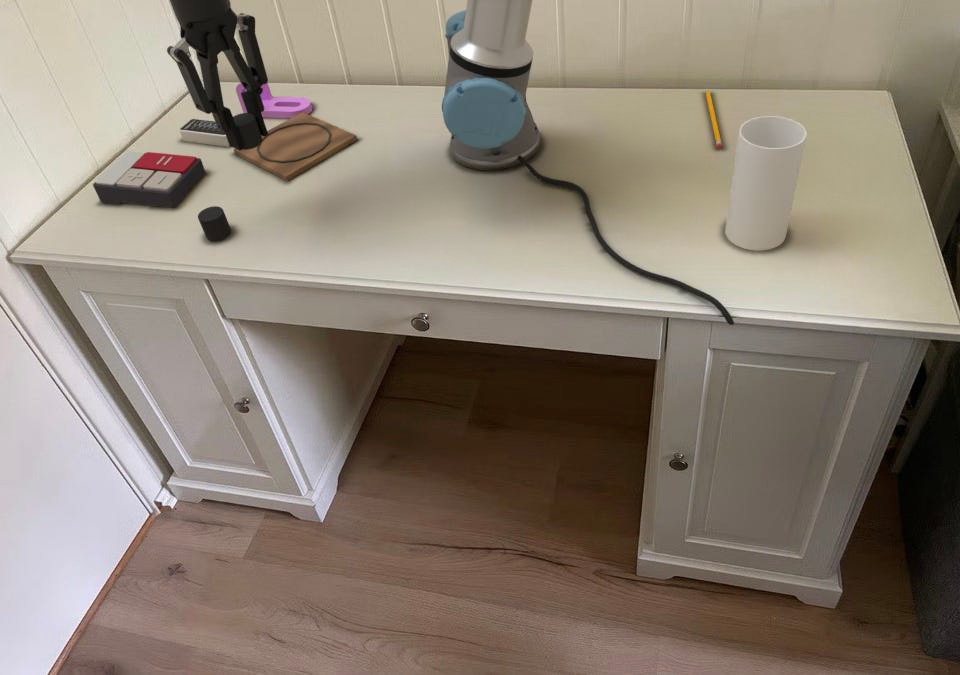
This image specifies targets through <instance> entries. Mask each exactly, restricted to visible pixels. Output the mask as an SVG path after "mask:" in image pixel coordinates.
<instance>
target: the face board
mask: <svg viewBox="0 0 960 675" xmlns="http://www.w3.org/2000/svg"><path fill="white" fill-rule="evenodd" d="M267 132H268V135H267V136H265V137H264V136H262V135H261V136H262V139H263V141H262V143H261V144H260V145H259V146H257V147H255V148H252V149H248V150H238V149H236V148H233V152H234V155H237V156H238V157H240V158H241V159H244V160H245V161H247V162H249V163H251V164H254V165H255V166H257V167H259V168H261V169H263V170H265V171H267V172H268V173H271V174H272V175H274V176H276V177H278V178H280V179H282V180H284V181H286V182H289V181H290V180H292V179H294V178H295V177H297V176H299V175H301V174H302V173H305V171H307V170H309V169H311V168H313V167H314V166H317V165H318V164H319V163H321V162H322V161H324V160H326V159H327V158H329V157H331V156H333V155H334V154H336V153H338V152H340V151H341V150H343V149H344V148H346V147H348V146H350V145H351V144H353V143H355V142H357V141H358V138H357V135H356V134H354V133H352V132H350V131H347V130H345V129H343V128H340V127H338V126H336V125H333V124H332V123H329V122H326V121H324V120H323V119H320V118H317V117H315V116H312V115H310V114H306V113H303V112H301V113H300V114H298V115H296V116H294V117H292V118H288V119H287V120H284V121H283V122H281V123H280V124H277V125H275V126H274V127H272V128H270V129H267Z"/></svg>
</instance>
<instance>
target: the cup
mask: <svg viewBox="0 0 960 675" xmlns="http://www.w3.org/2000/svg"><path fill="white" fill-rule="evenodd" d="M807 134H808V133H807V129H806V128H805V127H804V125H802V123H800V122H798V121H796V120H794V119H792V118H789V117H785V116H778V115H764V116H758V117H753V118H750V119H748V120H747V121H745V122H743V123H742V124H741V125H740V128H739V131H738V136H737V142H736V148H735V149H736V150H735V157H734V158H735V159H734V165H733V171H732V178H731V186H730V193H729V199H728V208H727V213H726V221H725V227H724V233H725V236H726V238H727V240H728V241H729V242H730V243H732V244H733V245H735V246H737V247H738V248H742V249H743V250H744V249H745V250H749V251H756V252H758V251H769V250H772V249H775V248H777V247H779V246H780V245H781V244H783V243H784V241H785V240H786V237H787V233H788V227H789V223H790V219H791V213H792V208H793V204H794V199H795V195H796V189H797V185H798V179H799V175H800V171H801V167H802V166H801V165H802V162H803V161H802V160H803V156H804V151H805V146H806V140H807Z"/></svg>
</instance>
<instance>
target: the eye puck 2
mask: <svg viewBox="0 0 960 675" xmlns="http://www.w3.org/2000/svg"><path fill="white" fill-rule="evenodd" d="M233 119H234V122H235V124H236V127H237V130H238V133H239V136H240V138H241V141H242V144H243V147H244V149H242V150H248V149H252V148H255V147H257V146H259V145H260V144H261V143H262V141H263V139H262V136H261V133H260V130H259V127H258V124H257V121H256V118H255V116H254V115H253V114H251V113H243V112H242V113H238V114H236V115H233Z"/></svg>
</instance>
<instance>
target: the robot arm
mask: <svg viewBox="0 0 960 675" xmlns="http://www.w3.org/2000/svg"><path fill="white" fill-rule="evenodd" d="M169 3H170V6H171V8H172V10H173V13H174V16H175V18H176V21H177V22H178V24H179V27H180V32H179V35H180V36H179V37H180V39H179V40H178V42H177V43H176V44H174V46H173V45H169V46H168V47H167V49H166V52H167V54H168V56H170V57H171V58H172V60H173V61H174V62H175V63H176V65H177V68H178V70H179V72H180V74H181V77H182V78H183V81H184V83H185V87H186V88H187V91H188V93H189V95H190V97H191V100H192V102H193V104H194V106H195V108H196V110H198V111H200V112H203V113H205V114H207V115H210V114H212V118H213V119H214V120H213V121H215V122H216V125H217V128H218V129H219V130H221V131H223V132H225V134H226V137H227V140H228V142H229V145H230V146H229V147H231V148H233V149H235V148H236V149H238V150H242V149H244V147H243V144H242V141H241V138H240V136H239V133H238V130H237V127H236V124H235V122H234V119H233V117H234V115H233V114H232V111H231V109H230V108H228V107H226V106H225V105H224V99H223V98H224V97H223V93H222V87H221V80H220V74H219V68H218V64H219V57H218V55H219V54H221V53H222V52H223V54H224V55H225V58H226V59H227V61H228V62H229V63H228V64H230V66H231V68H232V70H233V72H234V73H235V75H236V77H237V79H238V80H239V83H240V82H241V84H242V85H243V87H244V89H246V91H247V92H245V91H244V92H242V93H241V96H242V98H243V101H244V104H245V107H246V110H247V113H251V114H253V115H254V116H255V118H256V121H257V124H258V127H259V130H260V133H261V135H262V136H264V137H265V136H267V135H268V132H267V131H268V129H267V125H266V123H265V120H264V117H262V114H261V112H263V111H264V105H263V102H262V99H261V96H260V94H262V92H263V89H262V88H261V86H262V85H263V84H266V83H267V82H269V79H268V78H269V77H268V75H267V71H266V68H265V64H264V59H263V56H262V53H261V50H260V46H259V42H258V38H257V35H256V18H255V17H254V15H249V14H248V13H247V14H246V13H243V12H241V13H239V14H236V12H235V11H234V10H233V9H232V6H231V5H232V4H231V0H169ZM532 5H533V0H467V1H466V8H465V10H462V11H459V12H456V13H454V14H453V15H450V17H449V18H447V19H446V22H445V34H444V37H445V38H446V40H447V49H448V50H447V51H448V61H447V69H446V70H447V71H446V77H445V78H446V79H445V85H444V95H443V97H442V101H441V113H442V118H443V122H444V124H445V127H446V129H447V130H448V132H449V133H450V134H451V135H450V142H449V144H450V151H451V155H452V157H453V159H454V160H455V161H456V162H458V163H459V164H460V165H462V166H463V167H467V168H470V169H474V170H479V171H499V170H506V169H509V168H514V167H517V166H519V165H523V166H524V167H525V168H526V169H527V170H528V171H529V172H530V173H531V175H532V176H534V177H535V178H536V179H537V180H540V181H542V182H545V183H548V184H551V185H557V186H562V187H567V188H569V189H570V188H571V189H572V190H574V191H576V192H578V193H579V195H580V196H581V197H582V200H583V203H584V209H585V213H586V215H587V218H588V221H589V223H590V226H591V229H592V232H593V234H594V236H595V238H596V240H597V241H598V243H599V244H600V246H601V247H602V248H603V249H604V250H605V251H606V252H607V253H608V255H610V256H611V257H612V258H613V259H614V260H615V261H616V262H618V263H619V264H621V265H623V266H624V267H626V268H627V269H629V270H631V271H633V272H635V273H637V274H639V275H641V276H643V277H646V278H648V279H652V280H656V281H659V282H663V283H666V284H669V285H672V286H675V287H677V288H680V289H682V290H685V291H686V292H689V293H690V294H693V295H695V296H697V297H699V298H702V299H704V300H705V301H708V302H709V303H710V304H712V305H713V306H714V307H715V308H716V309H717V310H718V311H719V312H720V314H721V315H722V316H723V318H724V319H725V321H726V323H727V324H728V325H730V326H733V325H735V321H734V319H733V317H732V315H731V314H730V312H729V311H728V310H727V308H726V307H725V306H724V305H723V304H722V302H721V301H719V300H718V299H717V298H715V297H714V296H712V295H711V294H709V293H706V292H705V291H702V290H700V289H698V288H695V287H693V286H691V285H690V284H687V283H684V282H682V281H681V280H678V279H675V278H672V277H669V276H666V275H662V274H658V273H654V272H650V271H648V270H645V269H643V268H641V267H639V266H636V265H635V264H633V263H631V262H630V261H628V260H626V259H625V258H624V257H622V256H620V255H619V254H618V253H617V252H616V251H615V250H614V249H612V247H611V246H610V245H609V244H608V243H607V242H606V240H605V239H604V238H603V236H602V234H601V232H600V230H599V227H598V224H597V222H596V220H595V219H596V218H595V217H594V215H593V211H592V209H591V204H590V199H589V196H588V194H587V193H586V191H585V190H584V189H583V188H582V187H581V186H579V185H578V184H576V183H573V182H571V181H567V180H562V179H555V178H551V177H548V176H545V175H542V174H540V173H539V172H538V171H537V170H536V169H535V168H534V167H533V166H532V165H531V163H529V161H528V160H530V159H531V158H533V157H534V156H535V155H536V153H538V151H539V149H540V145H541V139H540V137H541V136H540V131H539V128H538V125H537V123H536V122H535V119H534V116H533V113H532V111H531V109H530V107H529V104H528V102H527V89H528V85H529V79H530V74H531V69H532V63H533V58H534V49H533V48H532V46H531V45H530V43H529V42H528V41H527V40H526V38H527V33H528V27H529V22H530V16H531V11H532ZM236 29H237V30H238V35H239V39H240V43H241V46H242V50H243V54H244V56H243V54H242V52H241V48H240V46H239V44H238V42H237V40H236V39H235V35H236ZM190 48H192V49H193V50H195V54H196V58H197V61H198V63H199V66H200V71H201V77H202V80H201V78H200V75H199V73H198V70H197V68H196V65H195V64H194V62H193V60H192V59H191V57H192V53H191V52H190ZM244 57H245V58H244Z"/></svg>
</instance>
